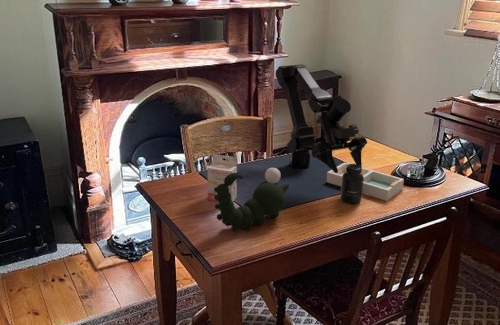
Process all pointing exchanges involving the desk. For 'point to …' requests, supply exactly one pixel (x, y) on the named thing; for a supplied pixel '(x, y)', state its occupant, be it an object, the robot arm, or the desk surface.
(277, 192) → the toy figurine
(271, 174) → the white ball
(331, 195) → the desk surface
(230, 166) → the ink cartridge box
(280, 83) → the robot arm
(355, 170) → the supplement bottle
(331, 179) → the tray
